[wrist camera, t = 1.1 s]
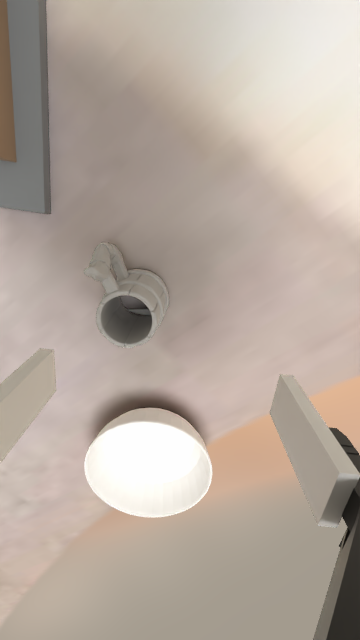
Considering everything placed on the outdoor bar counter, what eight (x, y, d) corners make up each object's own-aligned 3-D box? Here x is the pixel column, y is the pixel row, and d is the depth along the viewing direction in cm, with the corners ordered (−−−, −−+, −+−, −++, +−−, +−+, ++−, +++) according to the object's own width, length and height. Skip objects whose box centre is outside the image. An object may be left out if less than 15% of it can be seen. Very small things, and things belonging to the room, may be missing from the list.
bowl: (224, 458, 47) (230, 499, 40) (130, 487, 50) (121, 529, 44) (182, 373, 42) (181, 403, 35) (78, 411, 45) (59, 446, 38)
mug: (130, 329, 39) (106, 374, 28) (87, 252, 36) (40, 268, 24) (179, 309, 38) (175, 347, 27) (139, 226, 34) (115, 231, 23)
